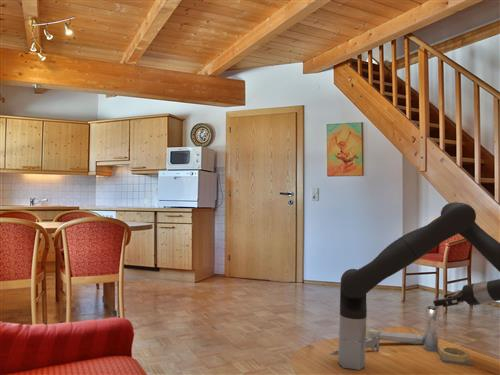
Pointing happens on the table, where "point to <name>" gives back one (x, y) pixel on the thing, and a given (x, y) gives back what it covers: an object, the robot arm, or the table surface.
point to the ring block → (454, 355)
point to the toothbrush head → (396, 337)
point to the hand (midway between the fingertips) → (439, 300)
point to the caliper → (368, 344)
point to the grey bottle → (431, 328)
